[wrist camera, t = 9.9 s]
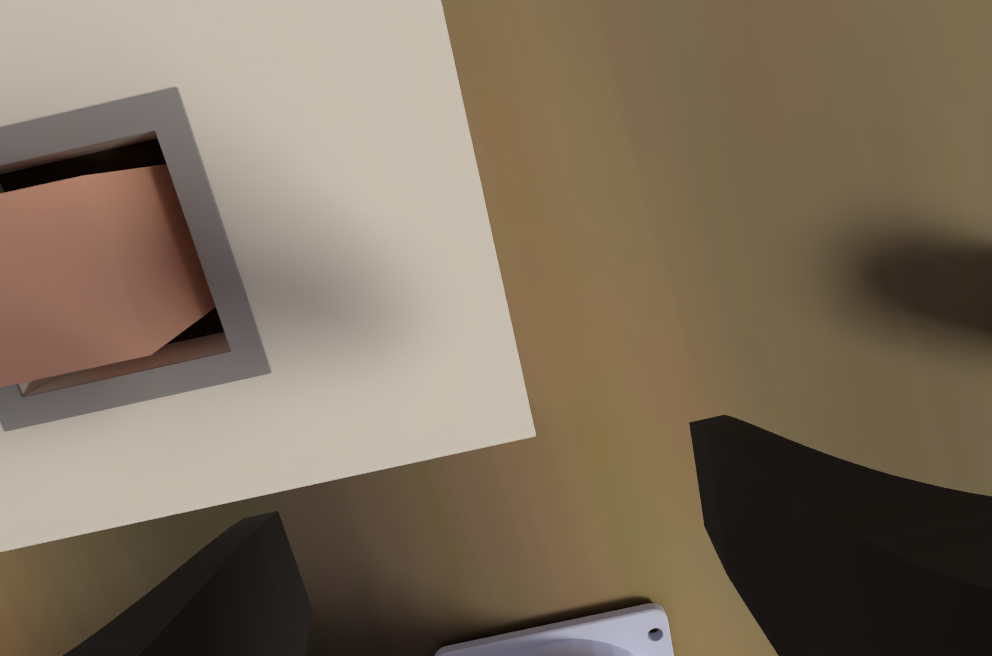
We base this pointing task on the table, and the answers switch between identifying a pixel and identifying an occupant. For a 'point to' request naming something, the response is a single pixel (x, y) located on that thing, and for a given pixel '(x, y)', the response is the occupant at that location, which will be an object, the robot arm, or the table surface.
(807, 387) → the table surface
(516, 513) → the table surface
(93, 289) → the plug block
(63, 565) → the table surface
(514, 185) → the table surface
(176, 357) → the outlet block
